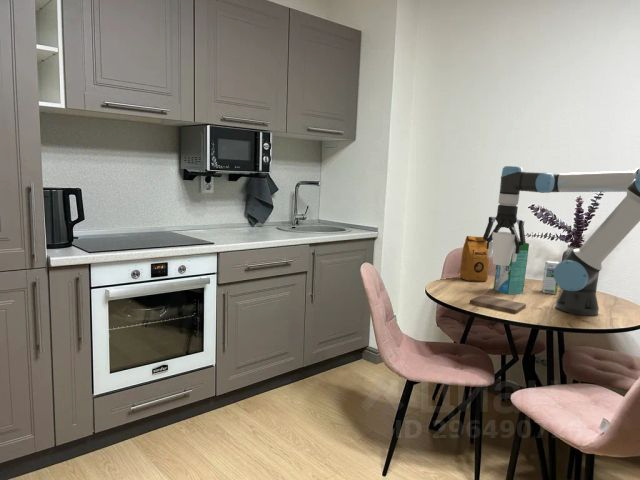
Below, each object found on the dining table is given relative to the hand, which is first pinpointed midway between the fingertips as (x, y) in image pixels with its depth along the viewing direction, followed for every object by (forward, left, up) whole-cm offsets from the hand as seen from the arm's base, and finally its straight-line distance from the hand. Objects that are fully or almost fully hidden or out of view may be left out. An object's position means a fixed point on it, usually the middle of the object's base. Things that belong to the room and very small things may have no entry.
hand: (501, 259), depth 200 cm
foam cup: (0, 0, -2) cm, 2 cm away
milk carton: (+2, -22, -18) cm, 29 cm away
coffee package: (+22, -32, -18) cm, 43 cm away
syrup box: (-12, -37, -18) cm, 43 cm away
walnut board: (-3, +8, -18) cm, 19 cm away
